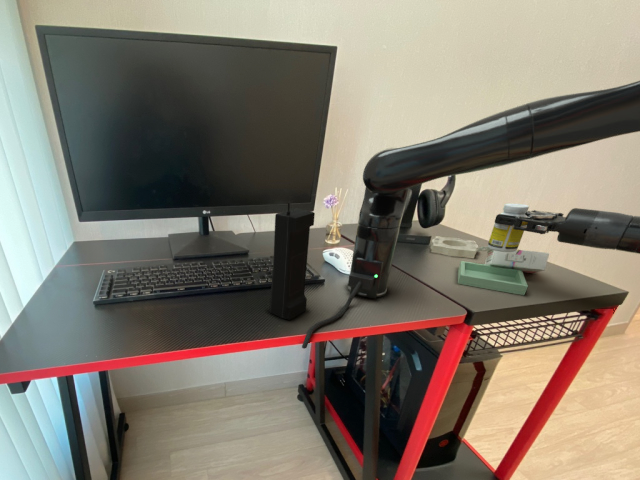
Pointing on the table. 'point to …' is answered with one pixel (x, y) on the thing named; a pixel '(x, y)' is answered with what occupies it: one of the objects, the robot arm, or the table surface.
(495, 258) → the ink cartridge box
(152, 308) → the table surface
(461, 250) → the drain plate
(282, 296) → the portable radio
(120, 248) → the table surface
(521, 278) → the basin tray
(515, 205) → the pill bottle
